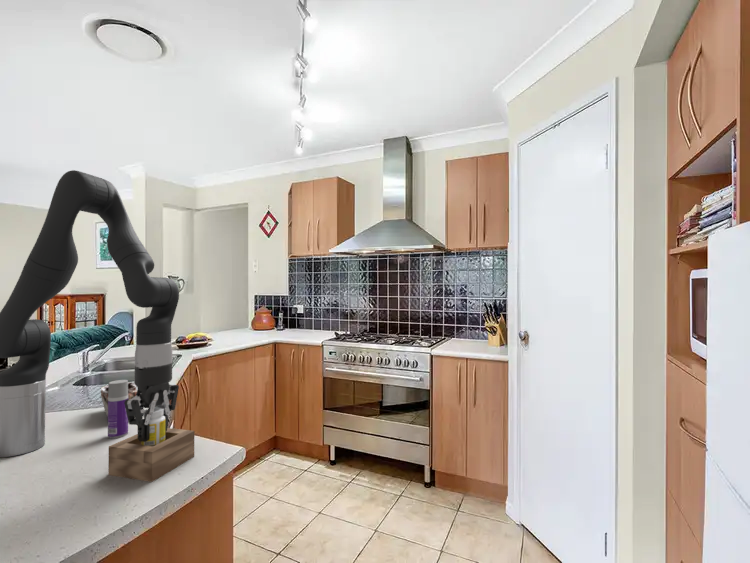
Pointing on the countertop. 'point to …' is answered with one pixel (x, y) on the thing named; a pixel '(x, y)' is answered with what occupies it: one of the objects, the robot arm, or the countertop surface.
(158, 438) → the supplement bottle
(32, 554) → the countertop surface
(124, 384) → the container
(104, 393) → the decorative box
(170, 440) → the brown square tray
